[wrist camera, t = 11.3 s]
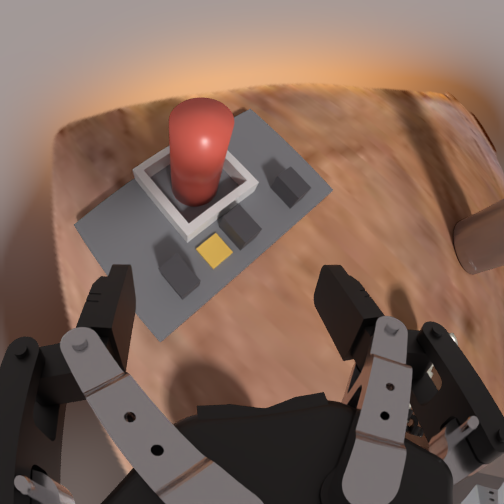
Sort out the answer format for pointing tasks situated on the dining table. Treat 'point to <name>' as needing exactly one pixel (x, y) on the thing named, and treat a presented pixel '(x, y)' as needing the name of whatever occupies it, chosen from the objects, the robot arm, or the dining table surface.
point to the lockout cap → (198, 148)
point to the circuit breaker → (482, 486)
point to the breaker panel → (201, 223)
